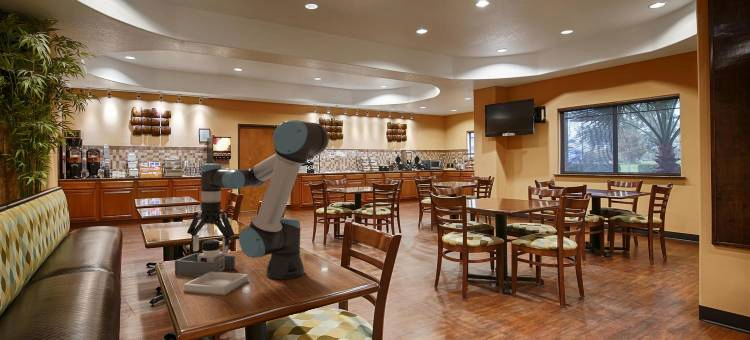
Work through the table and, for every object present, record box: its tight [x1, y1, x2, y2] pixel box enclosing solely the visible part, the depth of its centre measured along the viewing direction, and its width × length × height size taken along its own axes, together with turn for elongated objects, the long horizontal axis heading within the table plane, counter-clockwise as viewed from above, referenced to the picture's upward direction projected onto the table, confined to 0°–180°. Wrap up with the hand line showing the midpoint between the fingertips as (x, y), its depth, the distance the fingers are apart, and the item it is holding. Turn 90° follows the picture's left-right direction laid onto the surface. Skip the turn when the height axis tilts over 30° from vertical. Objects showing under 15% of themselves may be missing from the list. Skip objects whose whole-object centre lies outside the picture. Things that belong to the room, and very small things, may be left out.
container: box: [197, 239, 226, 272], centre depth 164 cm, size 8×8×13 cm
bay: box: [174, 252, 236, 277], centre depth 165 cm, size 19×13×6 cm
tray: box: [183, 271, 249, 296], centre depth 146 cm, size 16×16×3 cm
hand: (210, 252), depth 164 cm, fingers open, 13 cm apart
